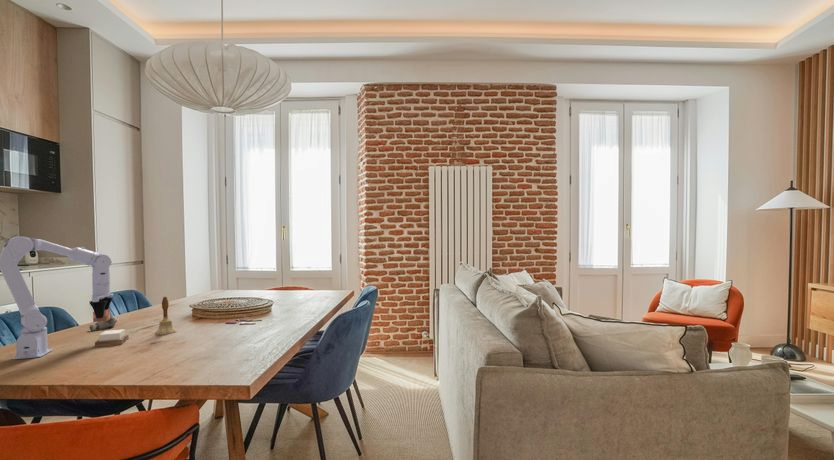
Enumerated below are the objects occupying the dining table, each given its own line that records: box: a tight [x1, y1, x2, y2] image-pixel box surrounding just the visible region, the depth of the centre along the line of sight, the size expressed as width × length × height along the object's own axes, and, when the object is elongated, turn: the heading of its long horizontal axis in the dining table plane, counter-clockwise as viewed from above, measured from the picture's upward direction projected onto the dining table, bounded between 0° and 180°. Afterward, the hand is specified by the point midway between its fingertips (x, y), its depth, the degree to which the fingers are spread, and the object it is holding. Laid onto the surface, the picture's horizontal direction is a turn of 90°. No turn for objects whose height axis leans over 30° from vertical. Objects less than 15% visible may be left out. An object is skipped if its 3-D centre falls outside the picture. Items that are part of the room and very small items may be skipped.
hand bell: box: [154, 296, 177, 336], centre depth 187 cm, size 8×8×16 cm
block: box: [92, 308, 111, 323], centre depth 171 cm, size 4×4×4 cm
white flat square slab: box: [98, 328, 126, 341], centre depth 170 cm, size 7×7×2 cm
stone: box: [88, 316, 118, 332], centre depth 195 cm, size 10×5×8 cm
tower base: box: [94, 334, 130, 348], centre depth 170 cm, size 9×9×2 cm
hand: (101, 316), depth 171 cm, fingers closed on block, 4 cm apart
